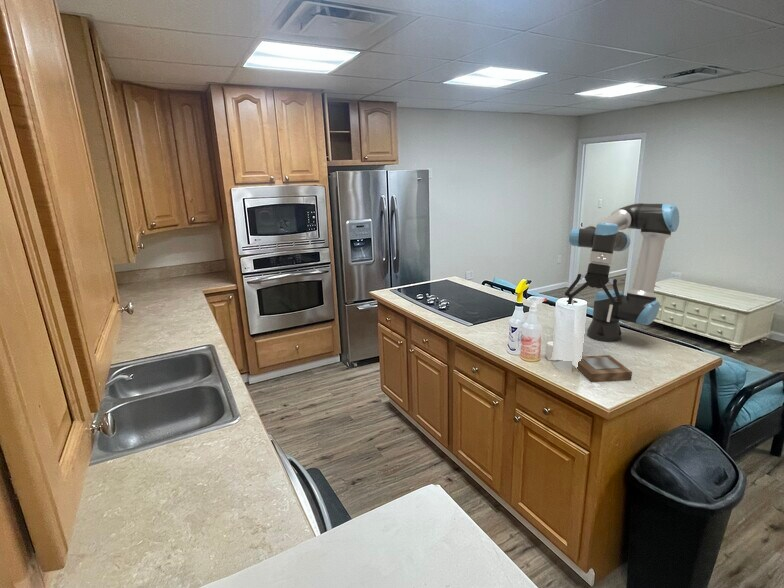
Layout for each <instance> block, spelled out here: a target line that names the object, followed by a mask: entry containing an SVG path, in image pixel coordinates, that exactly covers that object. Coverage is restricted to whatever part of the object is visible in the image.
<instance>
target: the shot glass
mask: <svg viewBox="0 0 784 588" xmlns="http://www.w3.org/2000/svg"><path fill="white" fill-rule="evenodd" d="M553 341H554V340H548V341H546V342H545V358H546V357H547V358H549V359H551V357H552V352H553ZM547 358H546V359H547Z"/></svg>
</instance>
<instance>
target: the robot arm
mask: <svg viewBox="0 0 784 588" xmlns="http://www.w3.org/2000/svg"><path fill="white" fill-rule="evenodd" d="M679 224H680V212H679V209H678V207H677V206H676V205H674V204H669V203H643V202H642V203H638V202H637V203H633V204H628V205H626V206H622V207H619V208H618V209H616V210H614V211H612V212H611V214H610V215H608V216H607V217H603V219H601V220H598V221H597V222H595V223H592V224H591V225H589V226H587V227H584V228H581V227H580V228H579V227H578V228H577V227H576V228H572V229H571V230H570V232H569V235H568V242H569V244H570V245H571V246H573V247H578V248H587V249H591V250H590V251H591V252H590V255H589V261H588V262H590V263H588V266H587V270H586V274H585V275H584V274H582V273H578V274H577V276H576V277H575V278H576V279H575V280H574V281H573V282H572V283H571V285H570V286H569V287H568V288H567V290H566V291H565V292H564V296H566V297H567V298H568V300H567V305H568V304H572V305H573V306H574V302H575V298H574V297H576V296H577V294H579V293H580V292H582V291H584V289H586V288H587V287H590V288H596V289H600V290H598V291H597V292H596V293H594V299H593V301H594V303H593V309H592V320H591V321H590V324H589V325H588V328H587V330H586V331H587V333H586V335H587V336H588V337H589V338H590V339H593V340H594V341H595V340H596V341H600V342H607V343H612V342H613V343H614V342H619V341H621V340H622V330H621V326H620V321H625V322H627V323H628V322H629V323H633V324H636V325H641V326H642V325H643V326H649V325H651V324H652V323H653V322H654V321H655V319H656V318H657V316H658V314H659V312H660V302H659V301H657V295H656V294H655V287H656V284H657V283H656V282H657V278H658V273H659V269H660V267H661V265H660V264H661V261H662V256H663V251H664V246H665V244H666V240H667V239H668V238H670V237H671V235H672V233H674V232H677V231H678V228H679ZM626 229H632V230H633V229H635V230H640V234H641V235H642V237H643V238H642V241H641V246H640V251H639V255H638V259H637V264H636V268H635V273H634V278H633V283H632V287H631V289H630V290H629V291H627V292H626V295H624V292H623V291H622V290H619V289H618V286H617V285H618V280H617V278H609V274H610V270H611V266H610V265H611V264H612V260H613V255H614V252H623V251H626V250H627V249H628V248H629V247H630V245H631V238H630V236H629V235H628V234H627V233H625V232H624V231H623V230H626ZM583 279H584V280H585V281H586V282H585V283H584V284H582V285H581V286H580V287H578V288H577V289H576V290H574V291H573V289H574V288H575V287H576V286H577V284H578V283H579V282H580V281H582V280H583ZM608 283H610V285H612V289H608V287H607V286H606V285H607V284H608ZM601 289H602V290H601ZM572 291H573V292H572ZM573 299H574V300H573Z"/></svg>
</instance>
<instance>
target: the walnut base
mask: <svg viewBox="0 0 784 588" xmlns="http://www.w3.org/2000/svg"><path fill="white" fill-rule="evenodd" d="M577 369H578V370H577ZM577 369H576V370H577V371H578V372H579V373H580V374H581V375H582V376H583V377H585V379H586V380H588V381H589V382H590V383H600V382H601V383H605V382H619V381H620V382H621V381H622V382H623V381H632V377H633V371H632V370H631V369H629V368H628V367H626V366H625V365H624V364H622V363H621V362H619V361H618V360H617V359H616V358H614V357H613V356H611V355H610V354H603V355H586V356H585V355H583V356H582V359H581V361H579V362H578V367H577Z"/></svg>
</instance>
